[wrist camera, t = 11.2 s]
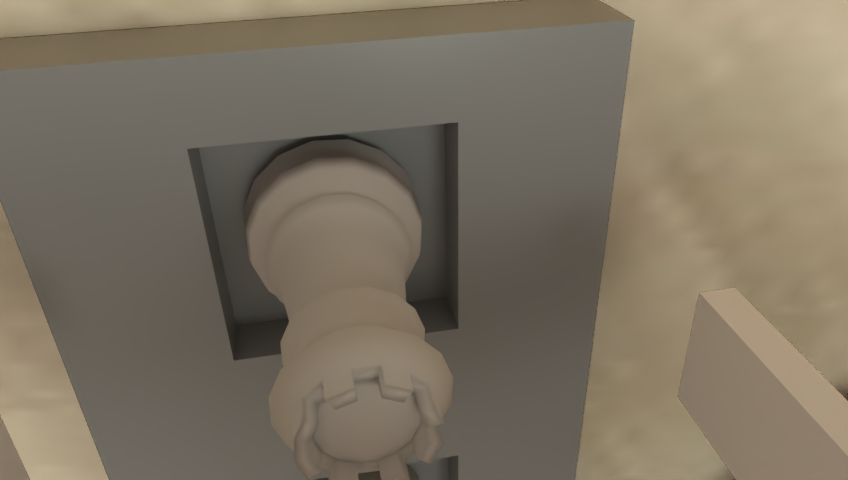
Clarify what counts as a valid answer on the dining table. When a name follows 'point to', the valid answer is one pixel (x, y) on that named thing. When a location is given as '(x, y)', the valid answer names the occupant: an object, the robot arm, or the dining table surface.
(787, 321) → the dining table surface
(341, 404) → the rook chess piece
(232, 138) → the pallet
